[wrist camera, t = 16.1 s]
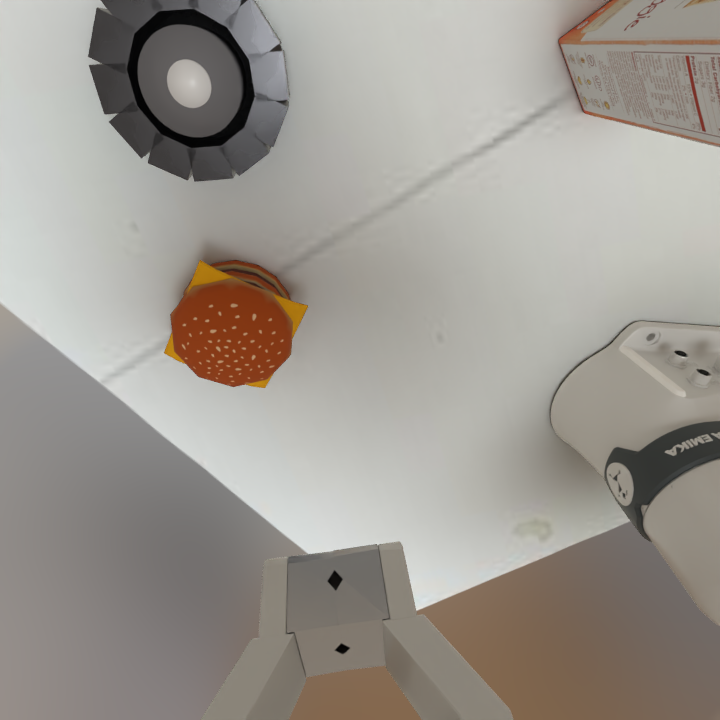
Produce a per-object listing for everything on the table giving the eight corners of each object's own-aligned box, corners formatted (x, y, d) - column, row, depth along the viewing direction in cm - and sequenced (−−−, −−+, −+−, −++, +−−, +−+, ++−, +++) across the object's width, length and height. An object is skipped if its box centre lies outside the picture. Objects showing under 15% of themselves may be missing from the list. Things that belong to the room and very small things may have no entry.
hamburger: (198, 238, 38) (182, 272, 32) (311, 284, 41) (314, 322, 35) (166, 334, 42) (147, 379, 36) (271, 369, 45) (268, 414, 39)
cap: (236, 22, 30) (227, 20, 26) (254, 122, 33) (248, 133, 29) (145, 29, 29) (122, 28, 26) (171, 129, 33) (154, 142, 29)
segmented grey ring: (273, -35, 29) (270, -44, 26) (297, 159, 35) (297, 172, 32) (86, -22, 28) (58, -31, 25) (144, 173, 34) (128, 187, 31)
